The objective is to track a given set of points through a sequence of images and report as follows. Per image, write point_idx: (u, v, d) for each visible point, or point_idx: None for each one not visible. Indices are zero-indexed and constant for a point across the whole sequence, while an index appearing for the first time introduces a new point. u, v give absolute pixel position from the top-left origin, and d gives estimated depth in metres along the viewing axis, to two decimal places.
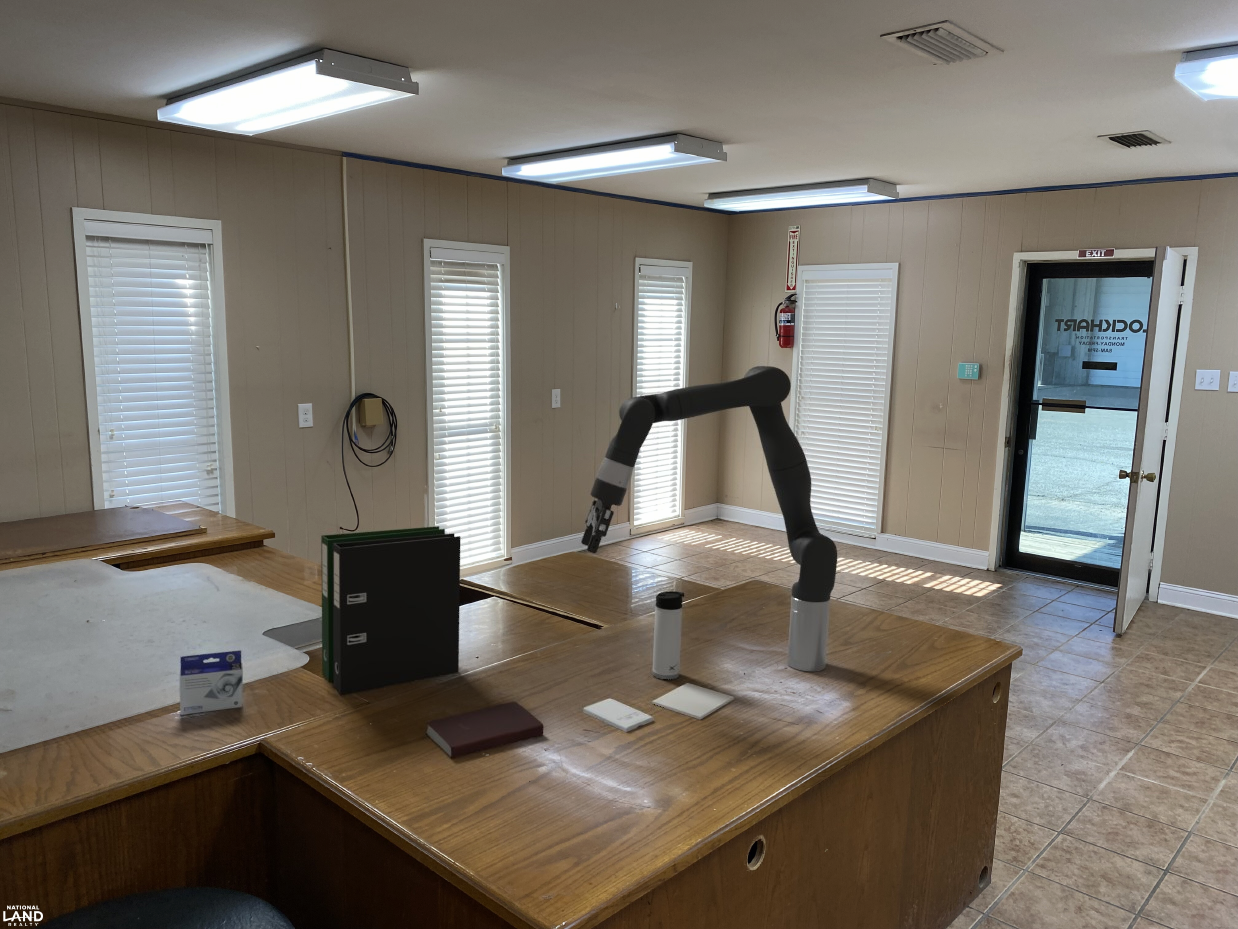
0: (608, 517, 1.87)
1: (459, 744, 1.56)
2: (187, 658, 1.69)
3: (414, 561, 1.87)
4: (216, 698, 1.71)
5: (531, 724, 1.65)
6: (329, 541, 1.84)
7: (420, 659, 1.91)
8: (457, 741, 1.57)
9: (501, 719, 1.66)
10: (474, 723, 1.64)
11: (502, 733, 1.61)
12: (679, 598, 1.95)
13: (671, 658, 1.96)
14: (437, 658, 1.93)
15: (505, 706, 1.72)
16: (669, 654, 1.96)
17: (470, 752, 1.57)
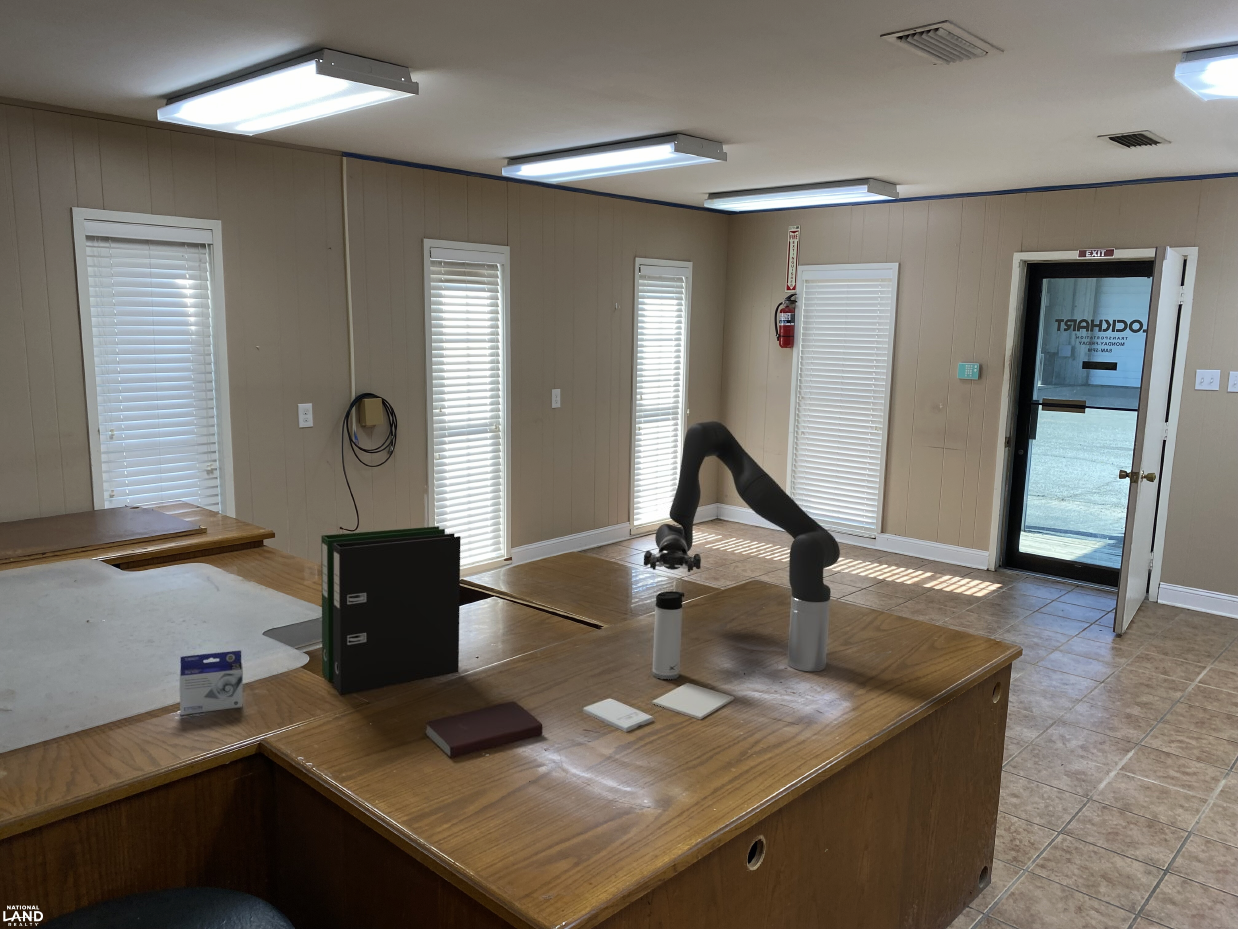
0: None
1: (458, 744, 1.56)
2: (187, 658, 1.69)
3: (414, 561, 1.87)
4: (216, 699, 1.71)
5: (530, 724, 1.65)
6: (329, 541, 1.84)
7: (420, 659, 1.91)
8: (456, 741, 1.57)
9: (500, 719, 1.66)
10: (473, 723, 1.64)
11: (501, 733, 1.61)
12: (679, 598, 1.95)
13: (671, 658, 1.96)
14: (437, 658, 1.93)
15: (504, 706, 1.72)
16: (669, 654, 1.96)
17: (469, 752, 1.57)
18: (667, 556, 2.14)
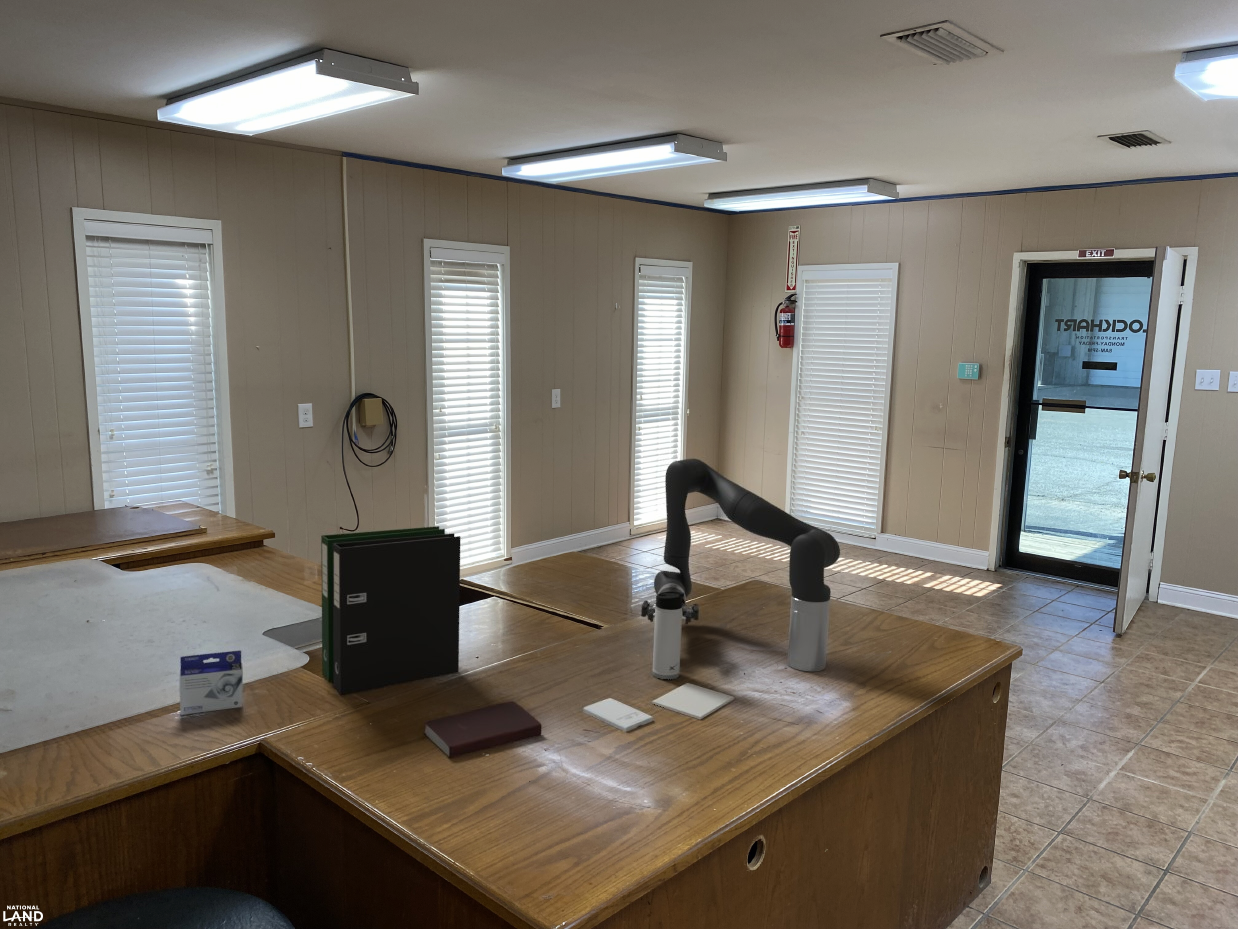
0: None
1: (457, 744, 1.56)
2: (187, 658, 1.69)
3: (414, 561, 1.87)
4: (216, 699, 1.71)
5: (529, 724, 1.65)
6: (329, 541, 1.84)
7: (420, 659, 1.91)
8: (455, 741, 1.57)
9: (499, 718, 1.66)
10: (472, 723, 1.64)
11: (500, 733, 1.61)
12: (679, 598, 1.95)
13: (671, 658, 1.96)
14: (437, 658, 1.93)
15: (503, 706, 1.72)
16: (669, 654, 1.96)
17: (468, 752, 1.57)
18: None
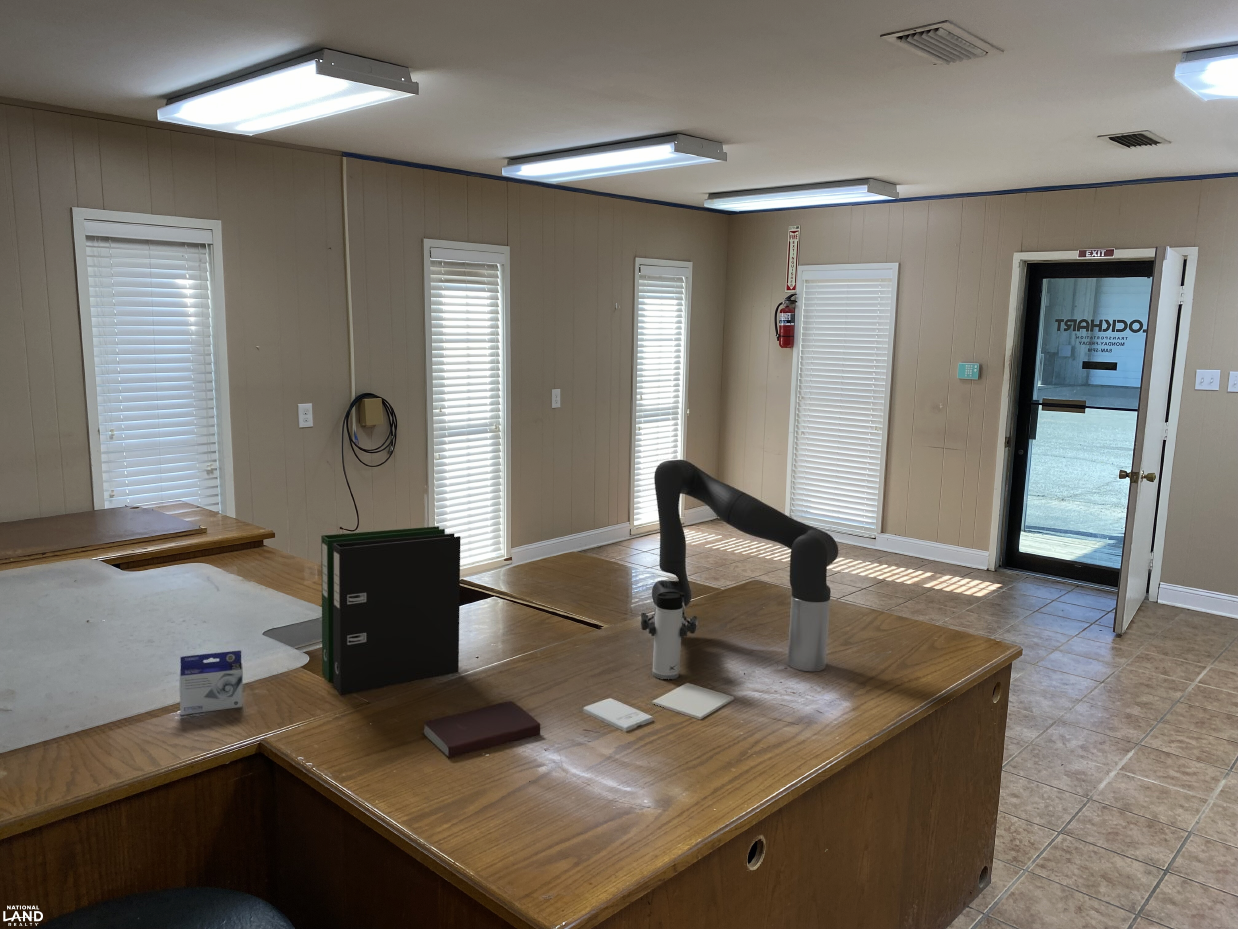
0: None
1: (457, 744, 1.56)
2: (187, 658, 1.69)
3: (414, 561, 1.87)
4: (216, 699, 1.71)
5: (528, 724, 1.65)
6: (329, 541, 1.84)
7: (420, 659, 1.91)
8: (454, 741, 1.57)
9: (498, 718, 1.66)
10: (471, 723, 1.64)
11: (499, 733, 1.61)
12: (680, 598, 1.95)
13: (671, 658, 1.96)
14: (437, 658, 1.93)
15: (502, 706, 1.72)
16: (669, 654, 1.96)
17: (467, 752, 1.57)
18: None
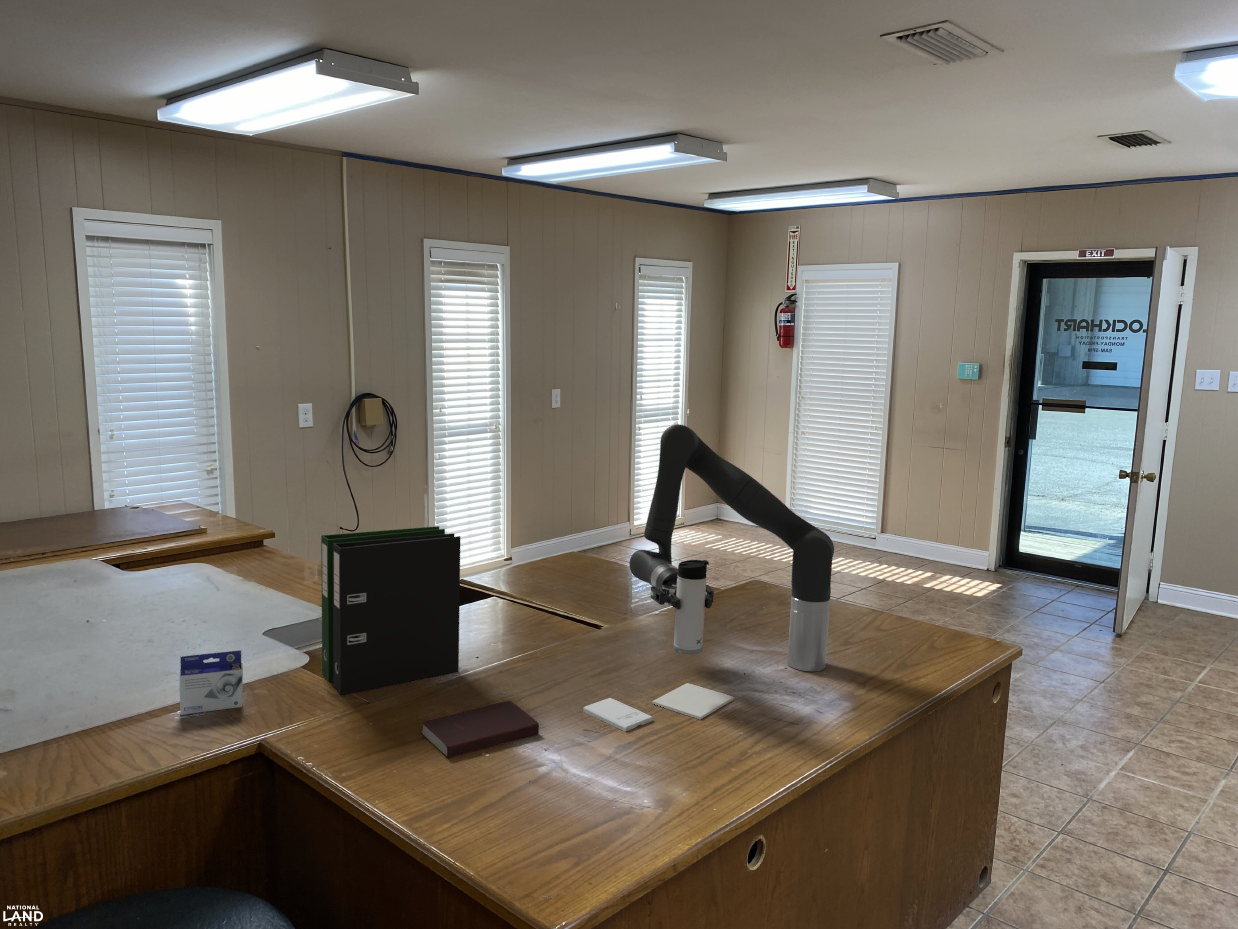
0: (652, 592, 1.89)
1: (455, 744, 1.56)
2: (187, 658, 1.69)
3: (414, 561, 1.87)
4: (216, 698, 1.71)
5: (527, 723, 1.65)
6: (329, 541, 1.84)
7: (420, 659, 1.91)
8: (452, 741, 1.57)
9: (496, 718, 1.66)
10: (470, 723, 1.64)
11: (497, 732, 1.61)
12: (706, 566, 1.82)
13: (698, 631, 1.83)
14: (437, 658, 1.93)
15: (500, 706, 1.72)
16: (697, 627, 1.82)
17: (466, 751, 1.57)
18: None
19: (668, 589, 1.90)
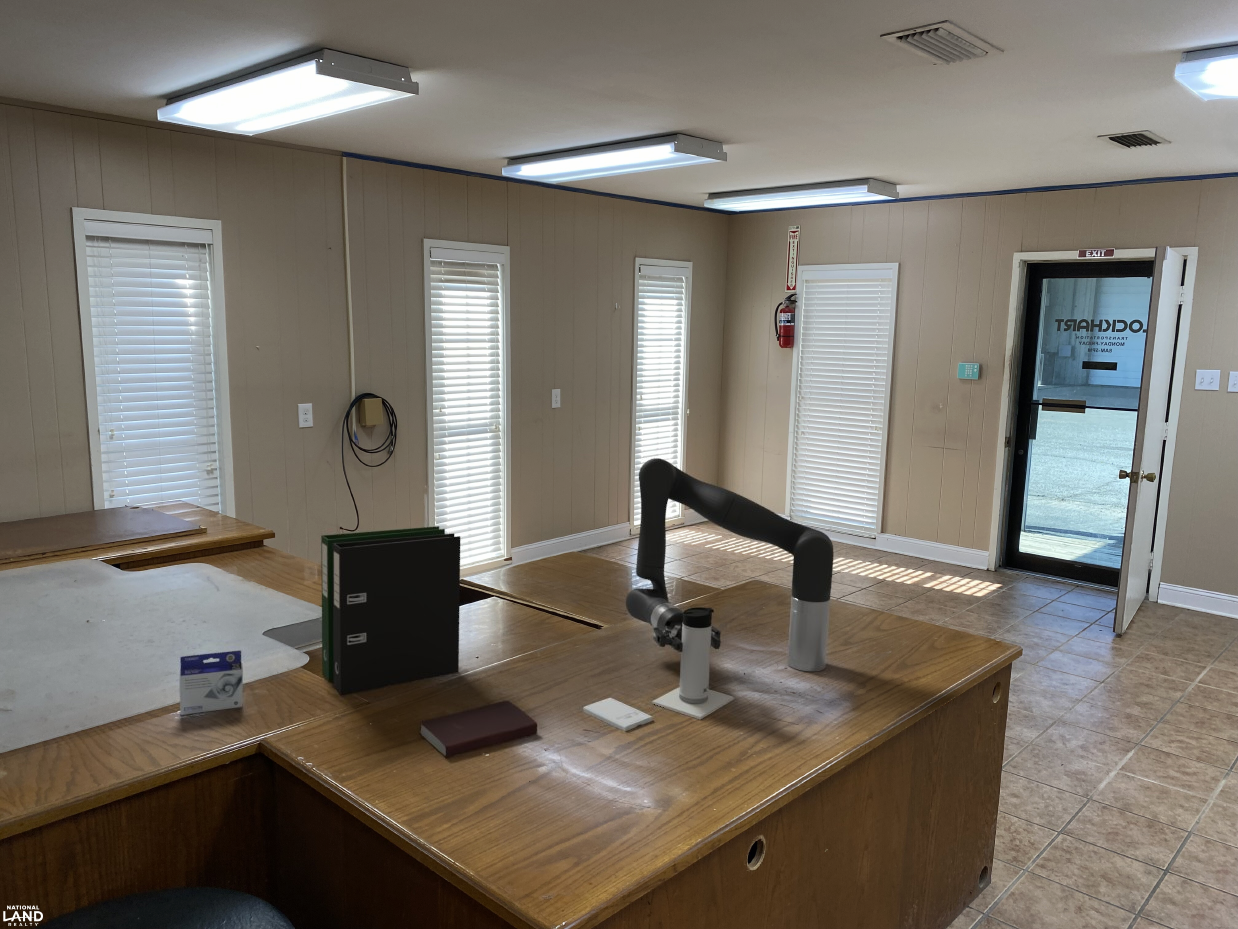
0: (655, 633, 1.88)
1: (454, 743, 1.56)
2: (187, 658, 1.69)
3: (414, 561, 1.87)
4: (216, 699, 1.71)
5: (525, 723, 1.65)
6: (329, 541, 1.84)
7: (420, 659, 1.91)
8: (451, 741, 1.57)
9: (495, 718, 1.67)
10: (468, 722, 1.64)
11: (496, 732, 1.61)
12: (711, 614, 1.82)
13: (704, 679, 1.82)
14: (437, 658, 1.93)
15: (499, 705, 1.72)
16: (703, 675, 1.82)
17: (464, 751, 1.57)
18: None
19: (671, 631, 1.88)
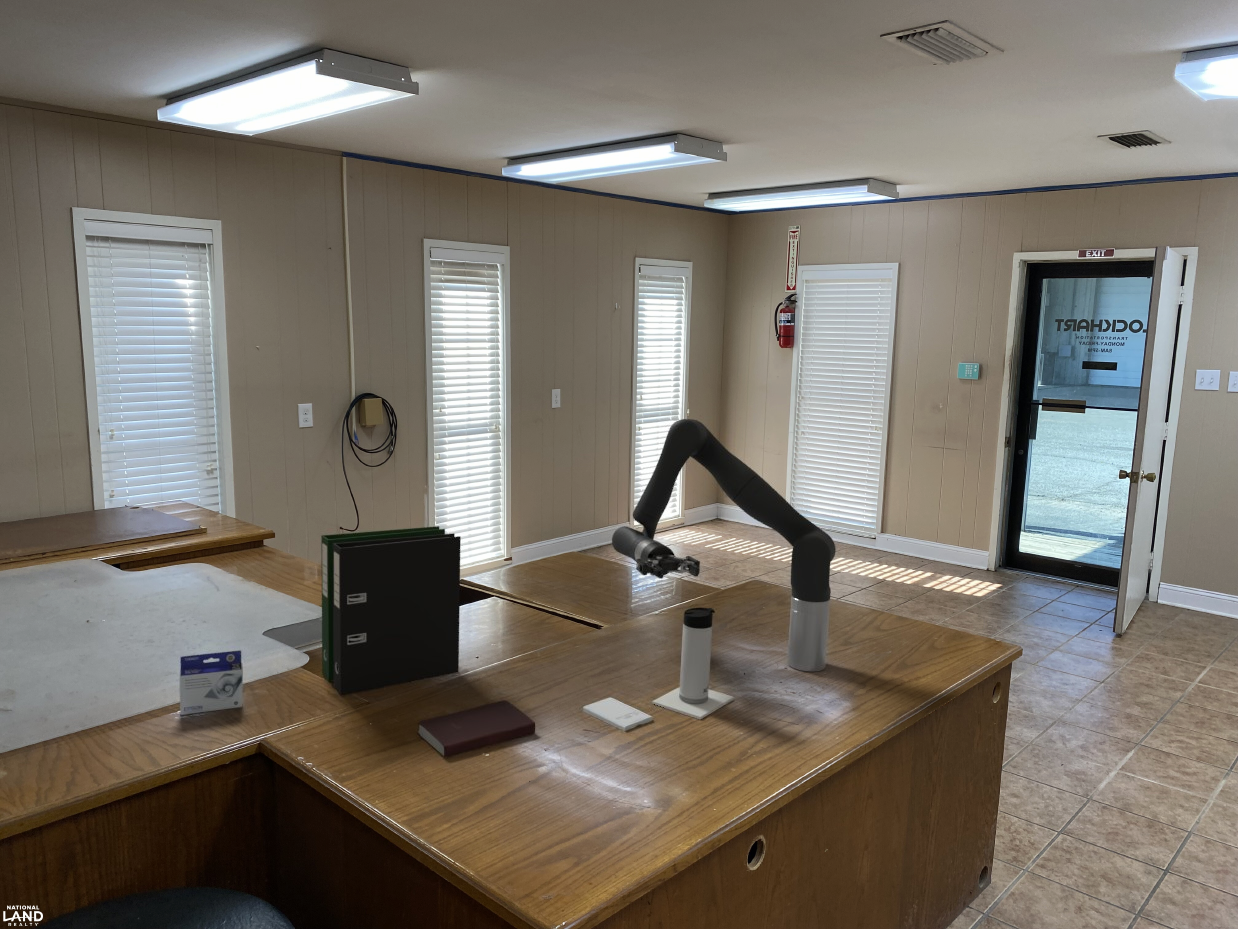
0: (637, 563, 1.98)
1: (452, 743, 1.56)
2: (187, 658, 1.69)
3: (414, 561, 1.87)
4: (216, 699, 1.71)
5: (523, 722, 1.66)
6: (329, 541, 1.84)
7: (420, 659, 1.91)
8: (449, 741, 1.57)
9: (493, 718, 1.67)
10: (466, 722, 1.64)
11: (494, 732, 1.61)
12: (712, 614, 1.81)
13: (705, 680, 1.82)
14: (437, 658, 1.93)
15: (496, 705, 1.72)
16: (703, 675, 1.82)
17: (463, 751, 1.57)
18: (663, 562, 1.98)
19: (653, 561, 1.99)
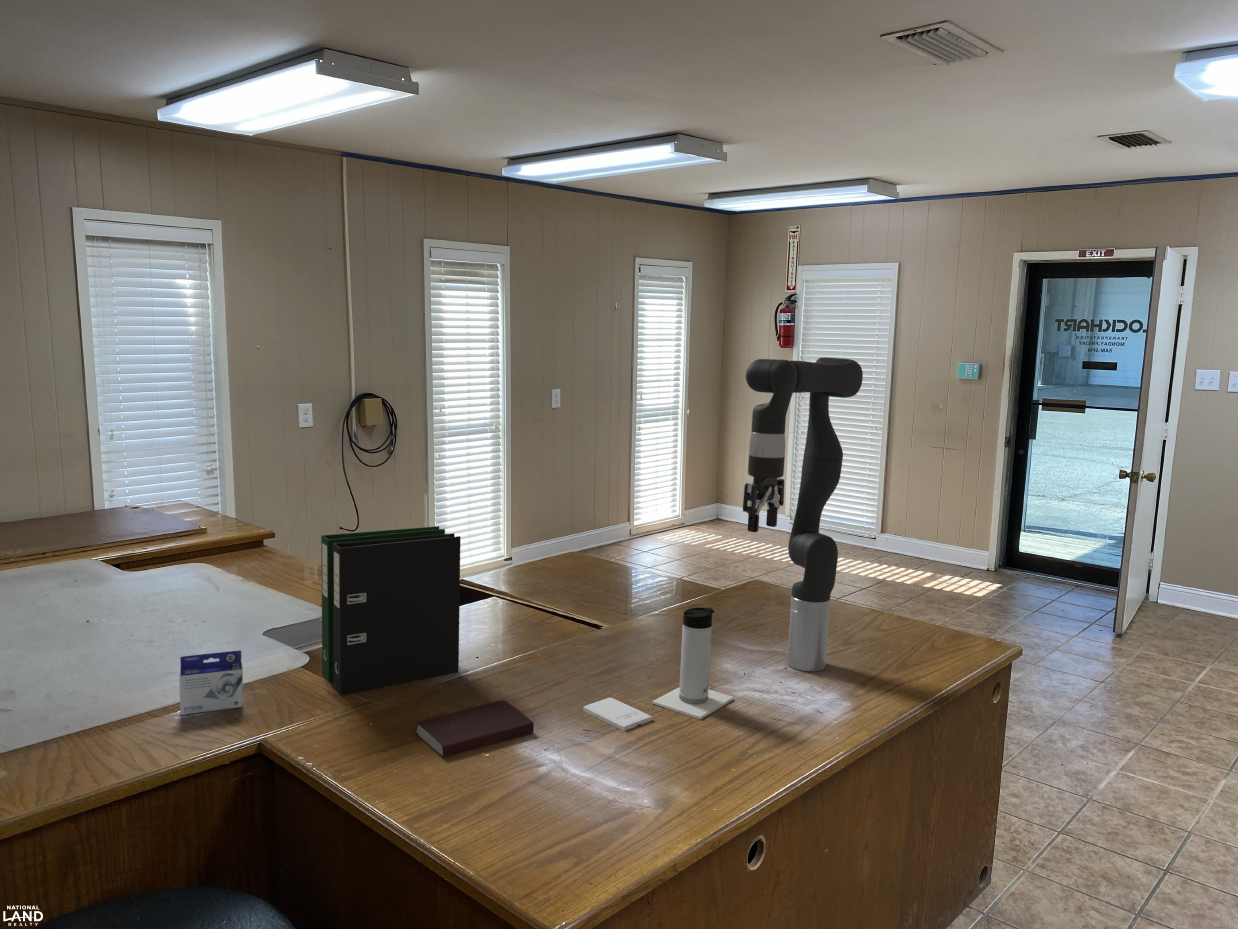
0: (751, 491, 1.76)
1: (451, 743, 1.56)
2: (187, 658, 1.69)
3: (414, 561, 1.87)
4: (216, 699, 1.71)
5: (521, 722, 1.66)
6: (329, 541, 1.84)
7: (420, 659, 1.91)
8: (448, 740, 1.57)
9: (491, 717, 1.67)
10: (465, 722, 1.64)
11: (492, 732, 1.61)
12: (711, 614, 1.81)
13: (704, 680, 1.82)
14: (437, 658, 1.93)
15: (495, 705, 1.72)
16: (703, 675, 1.81)
17: (461, 751, 1.57)
18: (765, 500, 1.80)
19: (761, 493, 1.78)
